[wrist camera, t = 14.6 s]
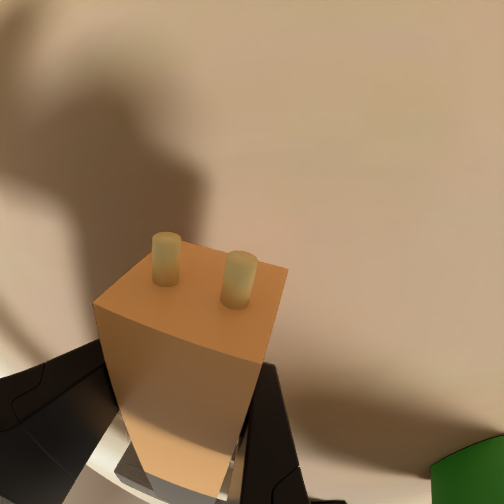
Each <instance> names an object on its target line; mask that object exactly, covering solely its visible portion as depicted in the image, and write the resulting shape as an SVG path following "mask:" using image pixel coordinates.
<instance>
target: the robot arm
mask: <svg viewBox="0 0 504 504" xmlns="http://www.w3.org/2000/svg"><path fill="white" fill-rule="evenodd" d="M118 411H119V406H118V403H117V399H116V396H115V393H114V390H113V387H112V383H111V380H110V377H109V373H108V369H107V366H106V362H105V358H104V354H103V350H102V346H101V342H100V338H99V339H97V340H95V341H92V342H90V343H88V344H86V345H83V346H81V347H79V348H76V349H74V350H72V351H70V352H67V353H65V354H63V355H60V356H58V357H56V358H53V359H51V360H49V361H47V362H46V363H45V362H44V363H42V364H39V365H37V366H35V367H32V368H29V369H27V370H24V371H22V372H19V373H16V374H13V375H10V376H6V377H3V378H0V504H62V503H63V501H64V499H65V498H66V496H67V494H68V493H69V491H70V489H71V488H72V486H73V484H74V483H75V480H76V479H77V477H78V476H79V474H80V472H81V471H82V469H83V467H84V466H85V464H86V462H87V461H88V459H89V458H90V456H91V454H92V453H93V451H94V449H95V448H96V446H97V445H98V443H99V441H100V440H101V438H102V436H103V435H104V433H105V432H106V430H107V428H108V427H109V425H110V424H111V422H112V421H113V419H114V417H115V416H116V414H117V413H118ZM298 466H299V461H298V457H297V453H296V449H295V445H294V440H293V436H292V432H291V428H290V424H289V420H288V416H287V411H286V407H285V403H284V399H283V395H282V391H281V386H280V382H279V378H278V374H277V370H276V367H275V365H273V364H270V363H266V362H263V363H262V366H261V370H260V373H259V376H258V379H257V382H256V386H255V389H254V392H253V395H252V398H251V401H250V404H249V407H248V411H247V414H246V417H245V420H244V423H243V426H242V429H241V432H240V435H239V439H238V445H237V450H236V455H235V461H234V466H233V472H232V477H231V482H230V488H229V493H228V498H227V503H226V504H347V503H346V502H338V503H310V500H309V498H308V495H307V491H306V488H305V484H304V481H303V477H302V473H301V469H300V467H298Z"/></svg>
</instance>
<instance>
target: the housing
mask: <svg viewBox="0 0 504 504" xmlns="http://www.w3.org/2000/svg"><path fill="white" fill-rule="evenodd" d="M114 473H115V474H116V476H117V477H118V478H119V479H120V481H121V482H122V483H124V484H126V485H128V486H130V487H132V488H134V489H136V490H139V491H141V492H143V493H145V494H147V495H150V496H152V497H154V498H156V499H159V500H161V501H164V502H166V503H169V504H173V503H170V502H167V501H165V500H162V499H160V498H158V497H157V496H156V494H155V492H154V490H153V488H152V486H151V484H150V482H149V480H148V478H147V476H146V473H145V471H144V469H143V467H142V465H141V462H140V460H139V458H138V456H137V453H136V451H135V448H134V446H133V444H132V441H131V443H130V445H129V446H128V448H127V450H126V451H125V453H124V455H123V456H122V458H121V460H120V462H119V463H118V465H117V467H116V468H115V470H114ZM226 503H227V501H223V500H220V499H216V501H215V504H226Z"/></svg>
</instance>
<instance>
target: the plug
mask: <svg viewBox="0 0 504 504" xmlns="http://www.w3.org/2000/svg"><path fill="white" fill-rule="evenodd" d="M287 273H288V269H286V268H282V267H278V266H275V265H271V264H267V263H263V262H259V261H258V260H257V258H256V257H255V256H254V255H252V254H250V253H248V252H244V251H232V252H230V253H226V252H222V251H218V250H214V249H211V248H207V247H203V246H200V245H196V244H192V243H188V242H185V241H181V237H180V236H179V235H178V234H176V233H172V232H159V233H156V234H154V235H153V237H152V252H150V253H149V254H148V255H147V256H146V257H144V258H143V259H142V260H141V261H140V262H139V263H137V264H136V265H135V266H134V267H133V268H131V269H130V270H129V271H128V272H127V273H126V274H124V275H123V276H122V277H121V278H120V279H119V280H118V281H116V282H115V283H114V284H113V285H112V286H111V287H110V288H108V289H107V290H106V291H105V292H104V293H103V294H102V295H101V296H99V297H98V298H97V299H96V300H95V301H94V302H93V309H94V314H95V319H96V324H97V329H98V333H99V338H100V342H101V346H102V350H103V354H104V358H105V362H106V366H107V369H108V373H109V377H110V380H111V383H112V387H113V390H114V393H115V396H116V399H117V403H118V406H119V409H120V411H121V414H122V417H123V420H124V423H125V425H126V428H127V431H128V433H129V436H130V439H131V441H132V444H133V446H134V448H135V451H136V453H137V456H138V458H139V460H140V462H141V465H142V467H143V469H144V471H145V473H146V476H147V478H148V480H149V482H150V484H151V486H152V488H153V490H154V492H155V494H156V496H157V497H158V498H160V499H162V500H165V501H167V502H170V503H173V504H215V501H216V499H217V496H218V494H219V491H220V488H221V485H222V483H223V480H224V477H225V474H226V472H227V469H228V466H229V463H230V460H231V458H232V455H233V452H234V449H235V446H236V443H237V440H238V437H239V435H240V432H241V429H242V426H243V423H244V420H245V417H246V414H247V411H248V407H249V404H250V401H251V398H252V395H253V392H254V389H255V386H256V382H257V379H258V376H259V373H260V370H261V366H262V363H263V360H264V356H265V353H266V349H267V346H268V342H269V339H270V335H271V332H272V328H273V325H274V321H275V318H276V314H277V310H278V307H279V303H280V299H281V296H282V292H283V288H284V284H285V281H286V277H287Z"/></svg>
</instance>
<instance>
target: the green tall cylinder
mask: <svg viewBox="0 0 504 504" xmlns="http://www.w3.org/2000/svg"><path fill="white" fill-rule="evenodd" d="M430 472H431V492H432V504H504V436H499V437H495V438H492V439H488V440H485V441H483V442H480V443H477V444H475V445H472V446H470V447H467V448H465V449H463V450H461V451H458V452H456V453H454V454H452V455H450V456H448V457H446V458H444V459H442V460H440V461H439V462H437V463H435V464H434V465H432V466H430Z"/></svg>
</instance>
